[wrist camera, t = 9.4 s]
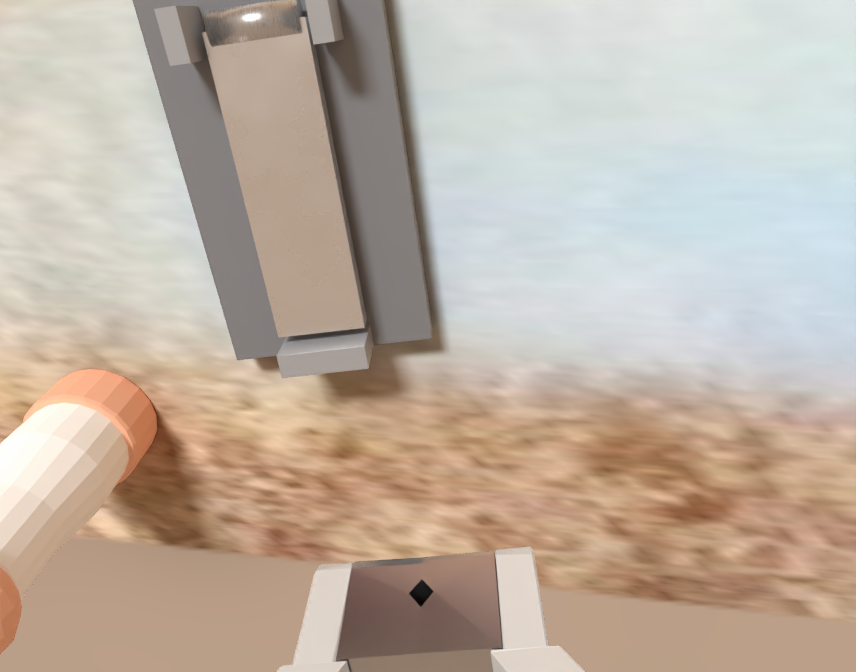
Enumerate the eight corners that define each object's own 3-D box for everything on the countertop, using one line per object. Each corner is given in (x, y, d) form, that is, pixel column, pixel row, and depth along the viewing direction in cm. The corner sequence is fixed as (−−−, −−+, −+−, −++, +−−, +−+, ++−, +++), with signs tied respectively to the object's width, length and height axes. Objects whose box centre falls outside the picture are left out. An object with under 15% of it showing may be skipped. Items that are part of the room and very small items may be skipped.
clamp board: (378, -38, 33) (368, -46, 29) (432, 324, 42) (430, 362, 37) (148, -2, 34) (103, -4, 30) (246, 345, 43) (222, 384, 38)
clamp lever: (307, -4, 32) (299, -6, 31) (367, 317, 39) (364, 329, 38) (207, 12, 33) (194, 11, 31) (284, 327, 40) (277, 339, 38)
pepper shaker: (145, 367, 44) (-52, 597, 26) (167, 459, 47) (4, 718, 30) (36, 369, 44) (-230, 598, 27) (65, 460, 47) (-155, 717, 30)
